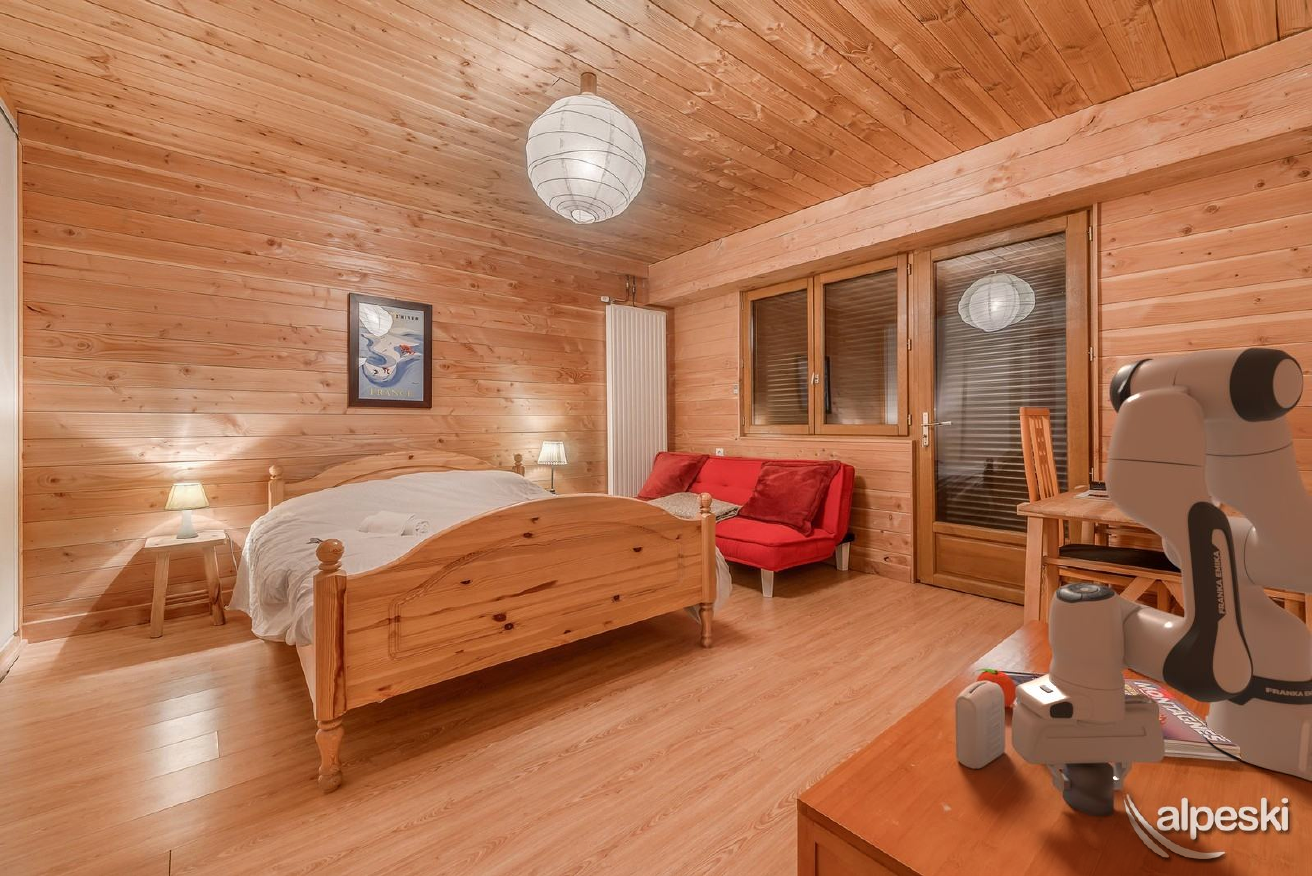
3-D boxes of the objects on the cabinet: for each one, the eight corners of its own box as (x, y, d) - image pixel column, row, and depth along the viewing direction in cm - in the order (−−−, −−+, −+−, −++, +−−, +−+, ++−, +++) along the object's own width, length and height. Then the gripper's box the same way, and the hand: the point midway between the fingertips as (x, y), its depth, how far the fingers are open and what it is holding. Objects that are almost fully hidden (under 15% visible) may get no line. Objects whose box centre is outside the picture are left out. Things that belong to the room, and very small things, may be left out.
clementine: (964, 703, 113) (964, 668, 113) (979, 692, 117) (978, 658, 117) (1009, 718, 107) (1008, 681, 106) (1022, 706, 111) (1021, 670, 111)
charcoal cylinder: (1092, 789, 86) (1092, 750, 86) (1124, 816, 80) (1124, 775, 80) (1053, 789, 86) (1052, 751, 86) (1082, 817, 80) (1082, 776, 80)
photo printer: (983, 740, 100) (982, 671, 99) (1009, 751, 96) (1008, 680, 96) (952, 761, 94) (950, 688, 94) (978, 773, 90) (976, 698, 90)
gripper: (1139, 684, 85) (1140, 773, 86) (1004, 687, 86) (1005, 776, 86) (1177, 704, 79) (1178, 801, 79) (1031, 707, 80) (1032, 803, 80)
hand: (1087, 788), depth 83 cm, fingers open, 6 cm apart
